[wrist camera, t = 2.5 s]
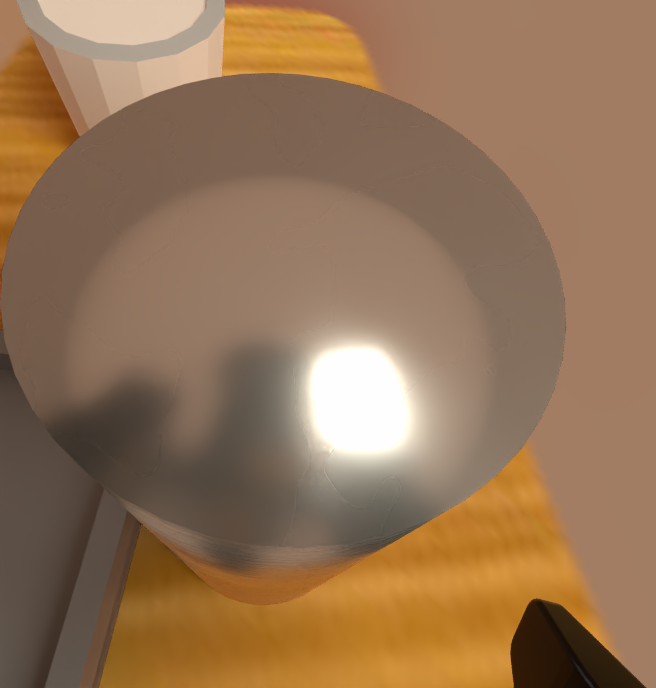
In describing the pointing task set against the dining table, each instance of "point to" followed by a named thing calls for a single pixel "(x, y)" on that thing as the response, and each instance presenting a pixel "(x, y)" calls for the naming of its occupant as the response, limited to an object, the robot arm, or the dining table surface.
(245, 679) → the dining table surface
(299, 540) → the silver metal cylinder
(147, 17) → the white cup
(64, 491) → the tray
